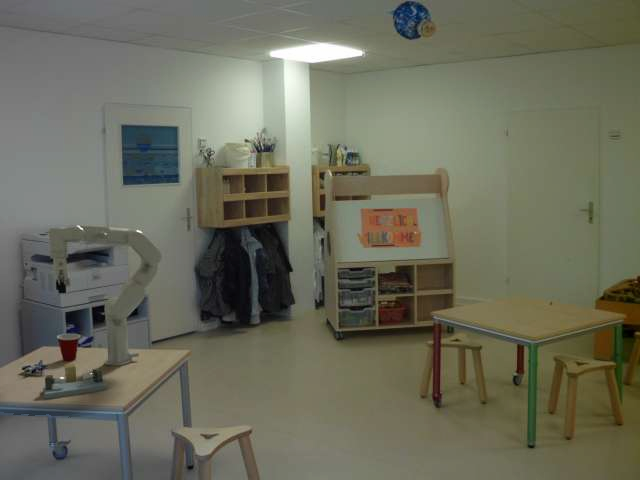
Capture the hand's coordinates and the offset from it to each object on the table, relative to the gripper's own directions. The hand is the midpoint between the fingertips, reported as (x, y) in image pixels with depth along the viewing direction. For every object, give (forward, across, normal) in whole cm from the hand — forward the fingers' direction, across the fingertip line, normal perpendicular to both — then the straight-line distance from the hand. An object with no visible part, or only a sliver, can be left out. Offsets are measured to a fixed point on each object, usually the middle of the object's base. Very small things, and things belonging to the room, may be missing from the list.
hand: (61, 291), depth 314 cm
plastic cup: (+37, +17, -4) cm, 41 cm away
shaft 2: (+35, -33, -7) cm, 48 cm away
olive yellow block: (+37, -20, 0) cm, 42 cm away
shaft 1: (+35, -33, +7) cm, 48 cm away
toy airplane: (+37, 0, +14) cm, 40 cm away
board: (+37, -34, 0) cm, 50 cm away
